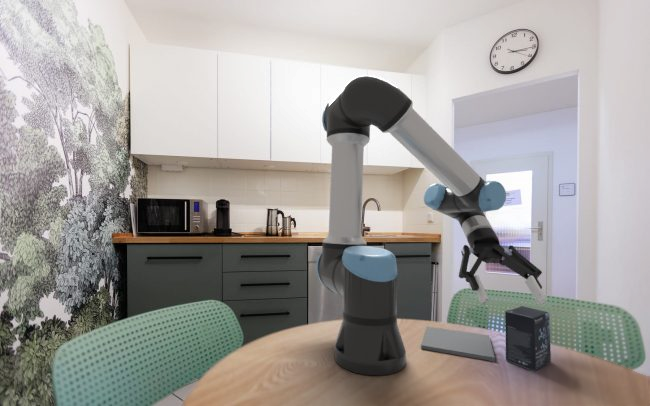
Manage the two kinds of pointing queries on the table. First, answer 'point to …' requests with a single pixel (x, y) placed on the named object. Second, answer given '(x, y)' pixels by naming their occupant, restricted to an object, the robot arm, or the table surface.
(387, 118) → the robot arm
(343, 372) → the table surface
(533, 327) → the box
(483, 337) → the mat
